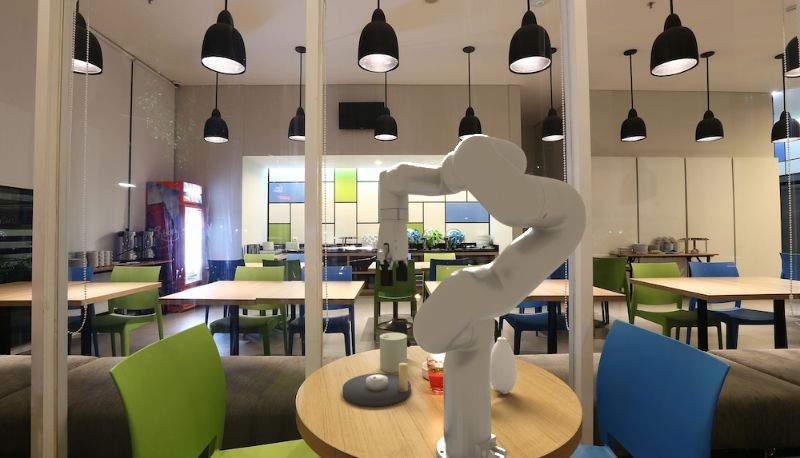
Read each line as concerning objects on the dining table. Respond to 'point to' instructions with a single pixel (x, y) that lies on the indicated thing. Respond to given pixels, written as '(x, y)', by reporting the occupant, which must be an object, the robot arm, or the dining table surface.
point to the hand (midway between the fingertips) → (394, 283)
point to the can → (392, 351)
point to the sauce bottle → (503, 366)
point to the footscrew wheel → (378, 388)
